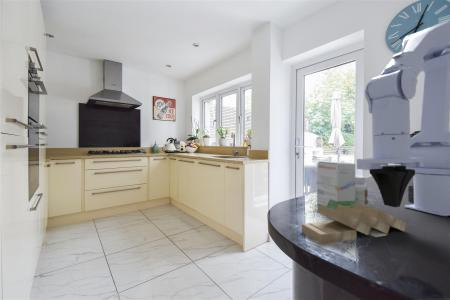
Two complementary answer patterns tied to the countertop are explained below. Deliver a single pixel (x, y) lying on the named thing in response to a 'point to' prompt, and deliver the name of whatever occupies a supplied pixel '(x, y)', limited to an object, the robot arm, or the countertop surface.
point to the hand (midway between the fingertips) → (391, 205)
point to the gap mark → (376, 233)
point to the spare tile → (344, 219)
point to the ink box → (335, 184)
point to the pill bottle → (361, 191)
